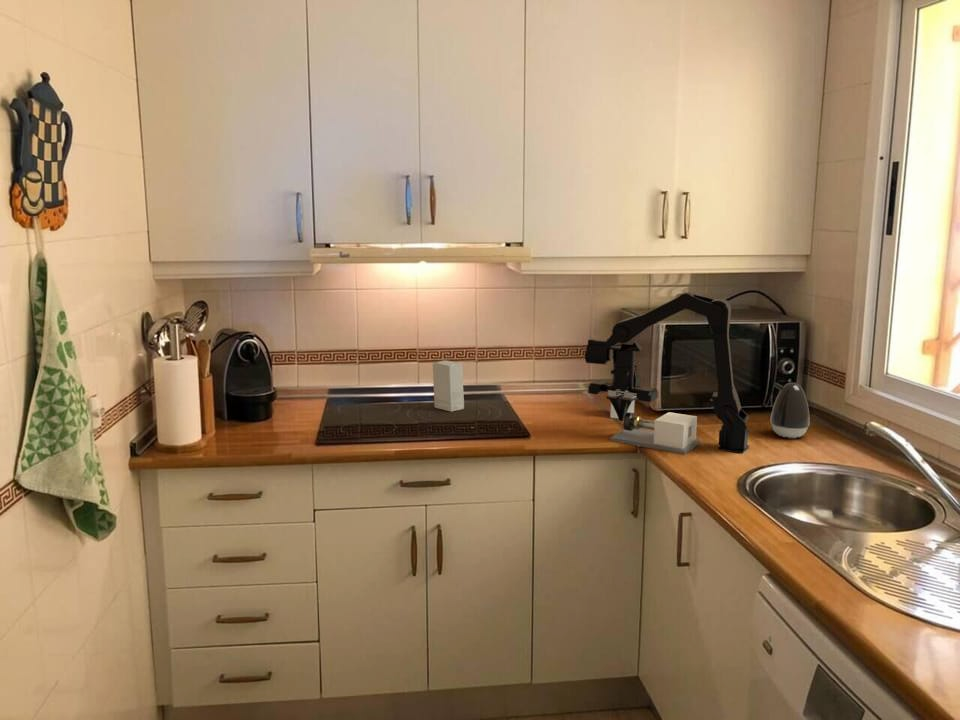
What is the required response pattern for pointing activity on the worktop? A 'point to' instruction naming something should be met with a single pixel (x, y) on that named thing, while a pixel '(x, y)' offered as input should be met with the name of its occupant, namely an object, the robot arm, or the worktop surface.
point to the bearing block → (664, 434)
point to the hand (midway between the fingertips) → (621, 420)
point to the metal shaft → (636, 422)
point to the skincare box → (448, 385)
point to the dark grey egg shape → (790, 411)
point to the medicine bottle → (630, 409)
